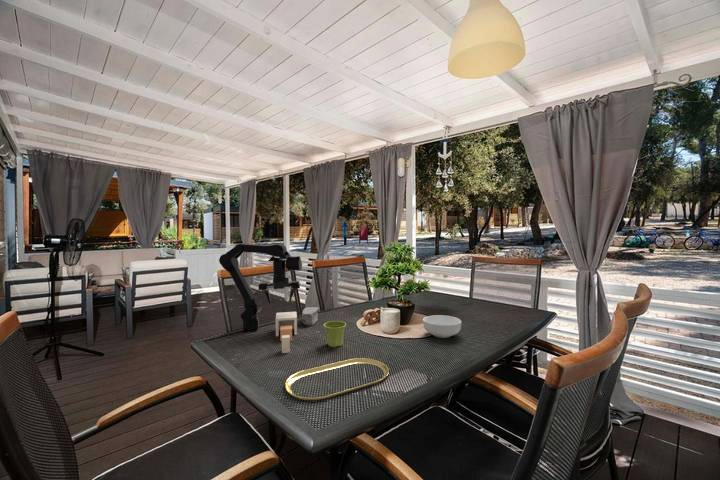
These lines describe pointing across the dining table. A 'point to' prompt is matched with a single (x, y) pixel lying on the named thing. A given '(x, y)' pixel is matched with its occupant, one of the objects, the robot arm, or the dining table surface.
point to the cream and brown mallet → (285, 338)
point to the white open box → (286, 321)
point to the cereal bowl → (442, 325)
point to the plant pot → (334, 332)
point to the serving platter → (332, 366)
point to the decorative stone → (310, 316)
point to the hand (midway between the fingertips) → (279, 303)
